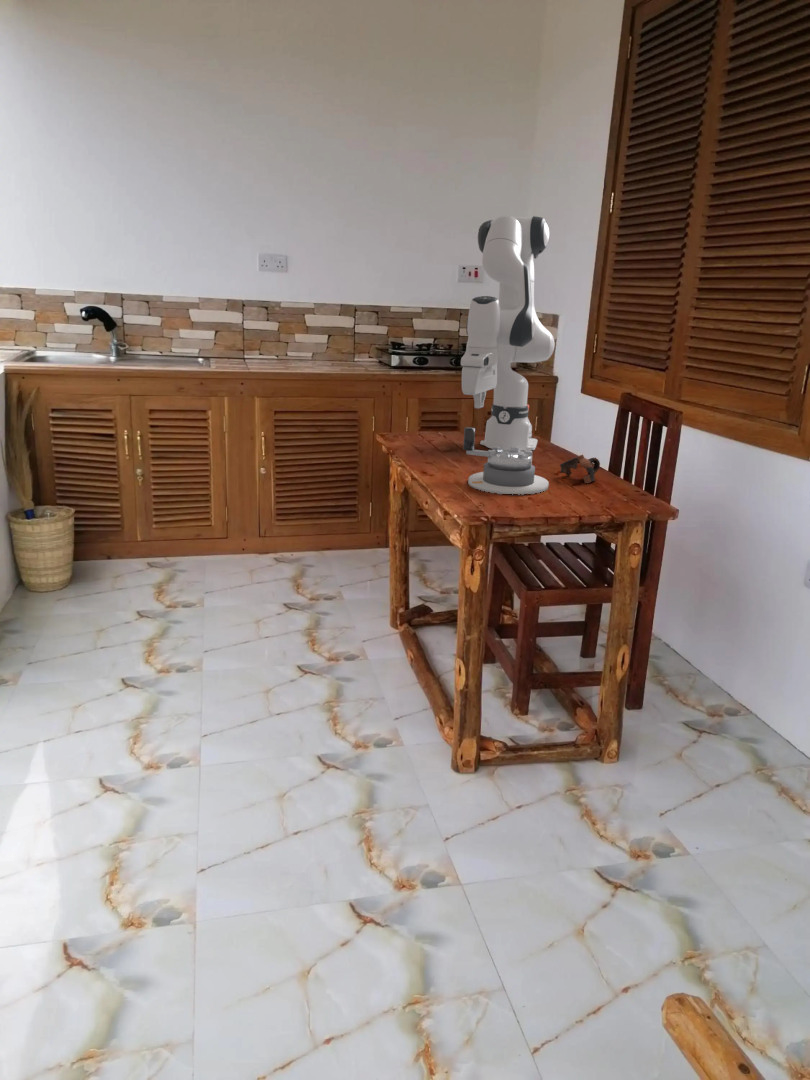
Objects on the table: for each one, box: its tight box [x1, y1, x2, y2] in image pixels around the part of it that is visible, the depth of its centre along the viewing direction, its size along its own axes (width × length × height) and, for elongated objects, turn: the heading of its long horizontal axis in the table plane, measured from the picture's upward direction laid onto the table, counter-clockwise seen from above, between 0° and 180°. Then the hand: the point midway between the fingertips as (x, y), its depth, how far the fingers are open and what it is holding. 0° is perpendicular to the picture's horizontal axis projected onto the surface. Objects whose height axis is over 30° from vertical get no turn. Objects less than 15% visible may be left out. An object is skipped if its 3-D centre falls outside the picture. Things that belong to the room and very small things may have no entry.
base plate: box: [467, 461, 550, 496], centre depth 221 cm, size 22×22×5 cm
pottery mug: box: [559, 454, 601, 484], centre depth 230 cm, size 12×10×8 cm
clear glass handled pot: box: [462, 426, 533, 470], centre depth 220 cm, size 12×20×9 cm, turn 66°
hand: (478, 407), depth 226 cm, fingers closed
